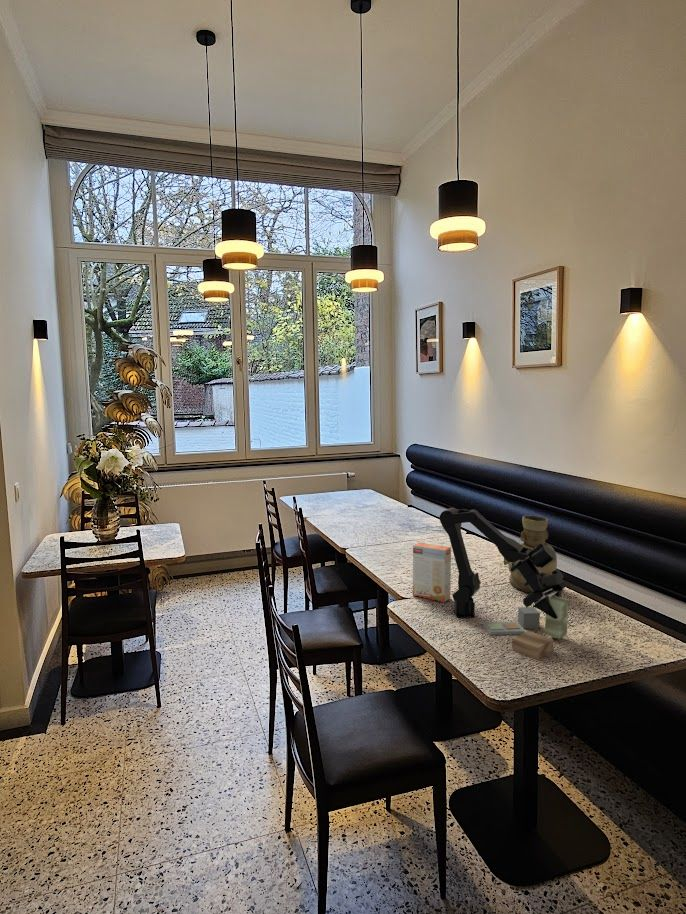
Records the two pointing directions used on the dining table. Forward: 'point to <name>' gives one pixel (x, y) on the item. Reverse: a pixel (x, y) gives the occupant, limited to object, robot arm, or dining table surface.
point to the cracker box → (432, 571)
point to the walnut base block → (532, 644)
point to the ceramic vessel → (532, 538)
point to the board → (503, 628)
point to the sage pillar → (558, 625)
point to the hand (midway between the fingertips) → (560, 616)
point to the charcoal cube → (528, 617)
